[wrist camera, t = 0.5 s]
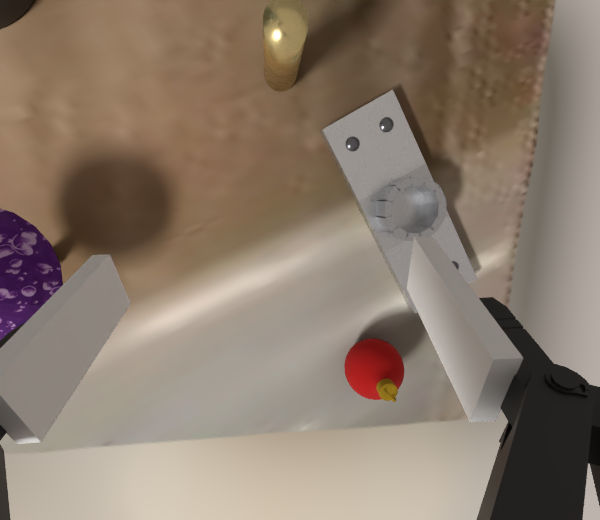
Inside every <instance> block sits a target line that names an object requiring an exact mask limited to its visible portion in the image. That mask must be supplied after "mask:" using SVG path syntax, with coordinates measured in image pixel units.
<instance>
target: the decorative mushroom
mask: <svg viewBox="0 0 600 520" xmlns="http://www.w3.org/2000/svg"><path fill="white" fill-rule="evenodd" d="M62 285H63V282H62V273H61V265H60V263H59V260H58V258H57V256H56V254H55V252H54V250H53V248H52V245H51V244H50V243H49V242H48V240H47V239H46V238H45V237H44V236H43V235H42V234H41V233H40V232H39V230H38V229H37V228H36V227H35V226H34V225H32V224H30V223H29V222H27V221H26V220H24V219H23V218H21V217H19V216H18V215H16V214H15V213H13V212H9V211H6V210H3V209H0V340H1V339H2V338H4V337H5V336H6V335H7V334H8V333H9V332H11V331H12V330H14V329H15V328H17V327H18V326H20V325H21V324H23V323H26V322H27V321H28V320H29V319H30V318H31V317H32V316H33V315H34V314H35V313H36V312H37V311H38V310H39V309H40V308H41V307H42V306H43V305H44V304H45V303H46V302H47V301H48V300H49V299H50V298H51V297H52V296H53V295H54V294H55V293H56V291H57V290H58V289H59V288H60V287H61V286H62Z"/></svg>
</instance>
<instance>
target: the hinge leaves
mask: <svg viewBox="0 0 600 520" xmlns="http://www.w3.org/2000/svg"><path fill="white" fill-rule="evenodd" d="M320 133H321V135H322V137H323V139H324V141H325V143H326V144H327V146H328V148H329V150H330V152H331V154H332V156H333V158H334V160H335V162H336V164H337V166H338V168H339V170H340V172H341V174H342V176H343V178H344V180H345V182H346V184H347V186H348V188H349V190H350V192H351V194H352V196H353V198H354V200H355V202H356V204H357V206H358V208H359V210H360V212H361V214H362V216H363V218H364V219H365V221H366V223H367V225H368V227H369V229H370V231H371V233H372V235H373V237H374V239H375V241H376V243H377V245H378V247H379V249H380V251H381V253H382V255H383V257H384V259H385V261H386V263H387V265H388V267H389V269H390V271H391V273H392V275H393V277H394V279H395V281H396V283H397V285H398V287H399V289H400V291H401V292H402V294H403V296H404V298H405V300H406V302H407V304H408V306H409V308H410V310H411V311H412V312H414V313H415V314H416V313H417V312H418V311H417V309H416V307H415V305H414V303H413V301H412V299H411V297H410V294H409V292H408V290H407V283H408V276H409V269H410V262H411V255H412V248H413V241H414V237H421V236H433V238H434V239H435V240H436V242H437V243H438V244H439V246H440V247H441V248H442V250H443V251H444V252H445V254H446V255H447V256H448V258H449V259H450V260H451V262H452V263H453V264H454V266H455V267H456V268H457V270H458V271H459V272H460V274H461V275H462V276H463V278H464V279H465V280H466V282H467V283H468V284H469V283H471V282H472V281H474V280H476V279H477V277H476V274H475V272H474V270H473V268H472V265H471V263H470V261H469V259H468V256H467V254H466V252H465V250H464V247H463V245H462V243H461V241H460V239H459V236H458V234H457V232H456V230H455V227H454V225H453V223H452V221H451V218H450V216H449V214H448V212H447V209H446V206H447V202H445V201H447V200H446V198H445V196H444V193H443V191H442V189H441V187H439V185H438V184H436V183H435V182H434V180H433V178H432V176H431V174H430V171H429V169H428V167H427V165H426V163H425V160H424V158H423V156H422V154H421V151H420V149H419V147H418V145H417V142H416V140H415V138H414V136H413V133H412V131H411V129H410V127H409V125H408V122H407V120H406V118H405V116H404V113H403V111H402V109H401V107H400V104H399V102H398V100H397V98H396V95H395V93H394V91H393V90H391V91H389V92H387V93H386V94H384V95H382V96H380V97H379V98H377V99H375V100H373V101H372V102H370V103H368V104H366V105H365V106H363V107H361V108H359V109H358V110H356V111H354V112H352V113H350V114H349V115H347V116H345V117H343V118H342V119H340V120H338V121H336V122H335V123H333V124H331V125H329V126H328V127H326V128H324V129H322V131H321V132H320Z"/></svg>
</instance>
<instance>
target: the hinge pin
mask: <svg viewBox="0 0 600 520" xmlns="http://www.w3.org/2000/svg"><path fill="white" fill-rule="evenodd" d="M308 26H309V19H308V15H307V12H306V10H305V8H304V6H303V5H302V4H301V3H300V2H299V1H298V0H272V1H271V2H270V3H269V4H268V5H267V7H266V9H265V11H264V15H263V39H264V75H265V79H266V82H267V84H268V85H269V86H270V87H271V88H272V89H274V90H276V91H286V90H288V89H290V88H291V87H292V86H293V85H294V83H295V81H296V78H297V74H298V69H299V65H300V61H301V57H302V52H303V48H304V44H305V40H306V35H307V31H308Z"/></svg>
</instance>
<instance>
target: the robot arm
mask: <svg viewBox="0 0 600 520" xmlns="http://www.w3.org/2000/svg"><path fill="white" fill-rule="evenodd" d="M33 1H34V0H0V28H2V27H5V26H7V25H9V24H11V23H12V22H14V21H15V20H17V19H18V18H19V17H20V16H21V15H23V14H24V13H25V11H26V10H27V9H28V8H29V7H30V5H31V4H32V2H33ZM407 290H408V292H409V294H410V297H411V299H412V301H413V303H414V305H415V307H416V309H417V311H418V313H419V316H420V318H421V320H422V322H423V324H424V326H425V328H426V330H427V332H428V334H429V337H430V339H431V341H432V343H433V345H434V347H435V349H436V351H437V353H438V356H439V358H440V360H441V362H442V364H443V366H444V368H445V370H446V372H447V375H448V377H449V379H450V381H451V383H452V385H453V387H454V389H455V391H456V394H457V396H458V398H459V400H460V402H461V404H462V406H463V408H464V410H465V412H466V415H467V417H468V419H469V421H470V422H480V421H482V422H483V421H496V419H497V417H498V414H499V412H500V410H501V409H502V411H503V413H504V414H505V416H506V418H507V420H508V424H507V426H506V428H505V430H504V432H503V434H502V436H501V438H500V440H499V442H501V444H500V447H499V450H498V453H497V457H496V460H495V463H494V466H493V470H492V473H491V476H490V479H489V482H488V485H487V488H486V492H485V495H484V498H483V501H482V504H481V508H480V511H479V514H478V517H477V520H582V517H583V507H584V497H585V486H586V476H587V466H588V463H589V464H590V466H591V470H592V475H593V479H594V484H595V488H596V492H597V496H598V501H599V505H600V387H597V386H593V385H589V383H588V382H587V381H586V380H585V379H584V378H583V377H581V376H580V375H579V374H578V373H576V372H574V371H572V370H570V369H568V368H566V367H564V366H560V365H557V364H554V363H553V362H552V361H551V360H550V359H549V357H548V356H547V355H546V354H545V353H544V351H543V350H542V349H541V348H540V347H539V345H538V344H537V343H536V342H535V341H534V339H533V338H532V337H531V336H530V335H529V333H528V332H527V331H526V330H525V329H523V326H522V325H521V324H520V323H519V321H518V320H516V319H515V316H514V315H513V314H512V313H511V312H510V310H509V309H508V308H507V307H506V306H505V305H503V304H502V303H500V302H499V301H497V300H496V299H494V298H493V297H490V298H478V296H477V295H476V294H475V292H474V291H473V290H472V288H471V287H470V286H469V284H468V283H467V282H466V280H465V279H464V278H463V276H462V275H461V274H460V272H459V271H458V270H457V268H456V267H455V266H454V264H453V263H452V262H451V260H450V259H449V258H448V256H447V255H446V254H445V252H444V251H443V250H442V248H441V247H440V246H439V244H438V243H437V242H436V240H435V239H434V238H433V236H421V237H414V241H413V248H412V255H411V262H410V269H409V276H408V283H407ZM130 304H131V303H130V301H129V298H128V296H127V294H126V291H125V289H124V287H123V284H122V282H121V279H120V277H119V275H118V272H117V270H116V268H115V265H114V263H113V261H112V258H111V256H110V254H105V255H92V256H91V257H90V258H89V259H88V260H87V261H86V262H85V263H84V264H83V265H82V266H81V267H80V268H79V269H78V270H77V271H76V272H75V273H74V274H73V275H72V276H71V277H70V278H69V279H68V280H67V281H66V282H65V283H64V284H63V285H62V286H61V287H60V288H59V289H58V290H57V291H56V293H55V294H54V295H53V296H52V297H51V298H50V299H49V300H48V301H47V302H46V303H45V304H44V305H43V306H42V307H41V308H40V309H39V310H38V311H37V312H36V313H35V314H34V315H33V316H32V317H31V318H30V319H29V320H28V321H27V322H26V323H23V324H21V325H20V326H18V327H17V328H15V329H14V330H12V331H11V332H9V333H8V334H7V335H6V336H5V337H4V338H2V339H1V340H0V440H1V439H2V438H3V436H4V435H5V434H6V433H7V434H8V435H9V436H10V437H11V438H12V439H13V440H14V441H15V442H16V444H18V443H39V442H42V440H43V439H44V437H45V435H46V434H47V432H48V431H49V429H50V428H51V426H52V425H53V423H54V422H55V420H56V418H57V417H58V415H59V414H60V412H61V411H62V409H63V408H64V406H65V404H66V403H67V401H68V400H69V398H70V397H71V395H72V394H73V392H74V391H75V389H76V387H77V386H78V384H79V383H80V381H81V380H82V378H83V377H84V375H85V374H86V372H87V370H88V369H89V367H90V366H91V364H92V363H93V361H94V360H95V358H96V356H97V355H98V353H99V352H100V350H101V349H102V347H103V346H104V344H105V343H106V341H107V339H108V338H109V336H110V335H111V333H112V332H113V330H114V329H115V327H116V325H117V324H118V322H119V321H120V319H121V318H122V316H123V315H124V313H125V312H126V310H127V308H128V307H129V305H130ZM0 520H10V512H9V501H8V491H7V480H6V469H5V459H4V450H3V448H2V446H1V445H0Z"/></svg>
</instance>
